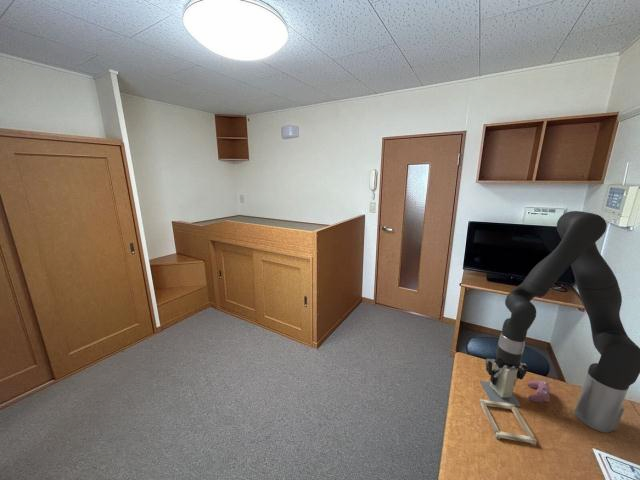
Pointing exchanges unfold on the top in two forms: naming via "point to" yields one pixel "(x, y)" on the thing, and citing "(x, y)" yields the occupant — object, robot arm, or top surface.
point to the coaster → (496, 397)
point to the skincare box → (505, 382)
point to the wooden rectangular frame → (499, 434)
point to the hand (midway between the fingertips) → (501, 384)
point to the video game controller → (539, 391)
